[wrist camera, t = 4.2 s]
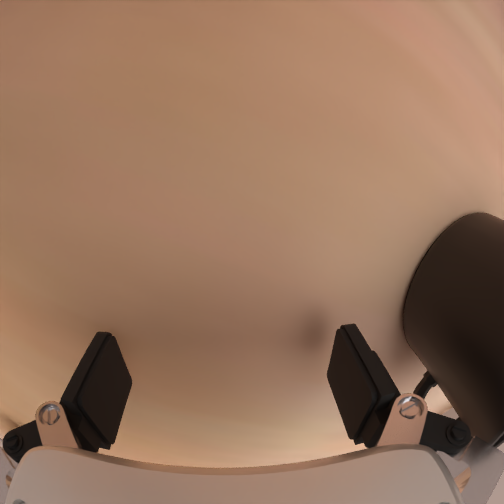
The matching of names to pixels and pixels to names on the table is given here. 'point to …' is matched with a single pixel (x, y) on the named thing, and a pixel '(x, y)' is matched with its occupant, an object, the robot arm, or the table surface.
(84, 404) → the robot arm
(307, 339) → the table surface
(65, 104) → the table surface
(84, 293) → the table surface
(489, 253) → the mug
